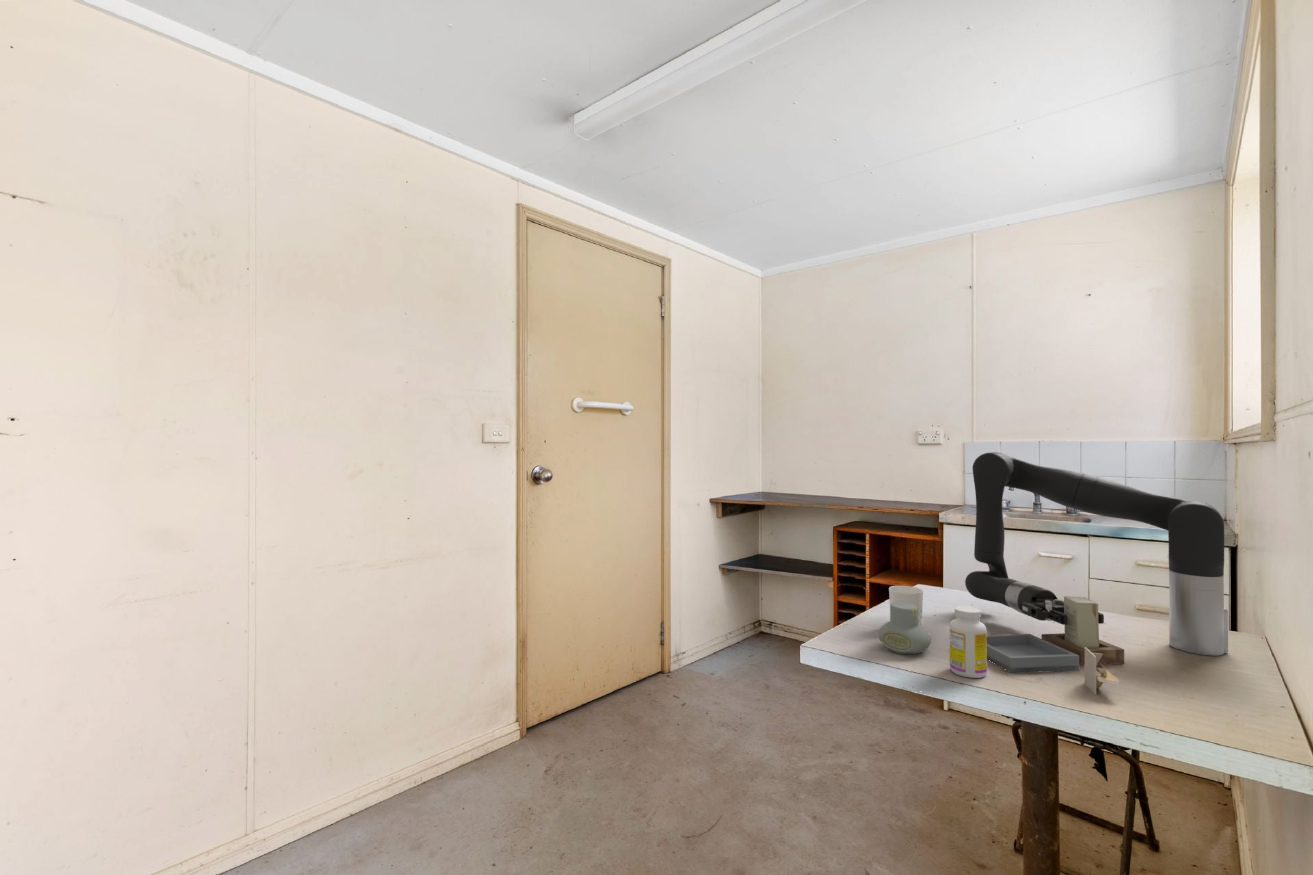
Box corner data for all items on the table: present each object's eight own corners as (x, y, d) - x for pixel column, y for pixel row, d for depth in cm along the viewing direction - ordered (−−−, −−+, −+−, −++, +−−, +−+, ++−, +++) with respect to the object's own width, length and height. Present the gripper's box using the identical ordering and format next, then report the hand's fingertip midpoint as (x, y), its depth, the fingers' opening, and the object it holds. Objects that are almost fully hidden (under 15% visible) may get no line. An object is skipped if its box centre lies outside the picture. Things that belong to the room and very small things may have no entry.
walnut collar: (1082, 646, 137) (1082, 632, 137) (1124, 663, 126) (1124, 649, 126) (1041, 647, 136) (1041, 634, 136) (1080, 665, 125) (1080, 651, 125)
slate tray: (1029, 647, 136) (1029, 633, 136) (1079, 670, 122) (1079, 655, 122) (967, 649, 135) (967, 635, 135) (1010, 673, 121) (1010, 658, 121)
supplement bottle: (985, 670, 122) (985, 607, 123) (988, 681, 116) (988, 615, 117) (949, 664, 125) (949, 603, 125) (950, 676, 119) (949, 611, 119)
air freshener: (936, 651, 133) (936, 606, 133) (922, 661, 127) (922, 614, 127) (887, 640, 141) (887, 597, 141) (872, 649, 135) (872, 604, 135)
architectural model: (1105, 687, 115) (1105, 648, 115) (1119, 702, 108) (1119, 661, 108) (1084, 685, 116) (1084, 646, 116) (1097, 699, 109) (1097, 659, 109)
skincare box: (1100, 661, 127) (1100, 603, 127) (1077, 659, 128) (1077, 602, 128) (1085, 651, 134) (1084, 596, 134) (1063, 649, 135) (1063, 595, 135)
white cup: (925, 628, 150) (925, 588, 150) (920, 636, 143) (920, 594, 144) (892, 623, 154) (892, 584, 154) (886, 631, 148) (885, 590, 148)
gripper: (1003, 585, 146) (1054, 603, 129) (1057, 584, 147) (1114, 601, 131) (1003, 616, 146) (1054, 638, 129) (1057, 614, 147) (1114, 636, 131)
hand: (1084, 619), depth 130 cm, fingers open, 8 cm apart
